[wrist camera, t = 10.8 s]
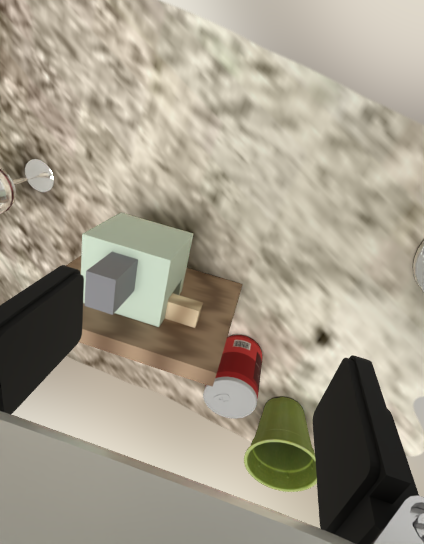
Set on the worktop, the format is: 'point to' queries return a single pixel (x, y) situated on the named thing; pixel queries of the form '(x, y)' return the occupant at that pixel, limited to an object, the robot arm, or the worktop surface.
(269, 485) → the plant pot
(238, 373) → the canned food
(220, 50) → the worktop surface
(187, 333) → the wall board
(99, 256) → the mint green box
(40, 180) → the wineglass
